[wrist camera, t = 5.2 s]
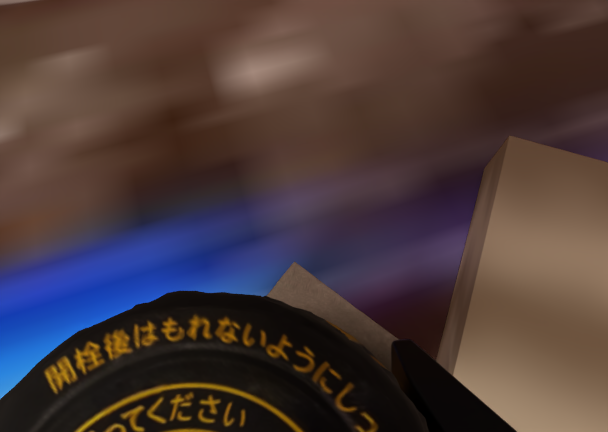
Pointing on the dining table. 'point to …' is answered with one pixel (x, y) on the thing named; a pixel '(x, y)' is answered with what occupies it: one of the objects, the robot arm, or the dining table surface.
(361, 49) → the dining table surface
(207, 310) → the condiment
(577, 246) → the base board
